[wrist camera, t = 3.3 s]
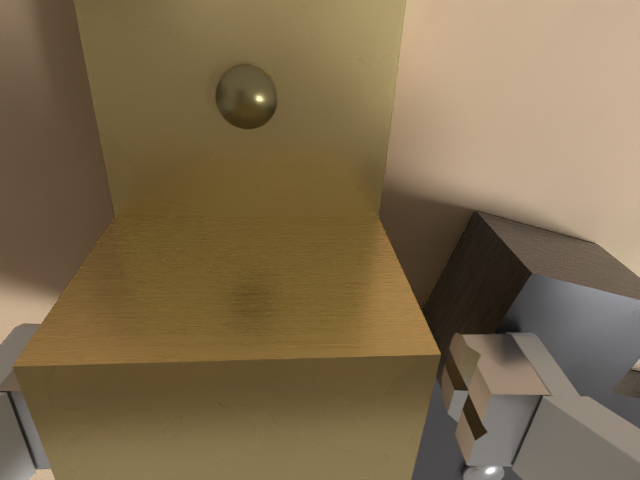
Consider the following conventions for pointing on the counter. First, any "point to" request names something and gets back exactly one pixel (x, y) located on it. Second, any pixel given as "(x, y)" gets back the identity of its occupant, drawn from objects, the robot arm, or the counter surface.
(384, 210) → the counter surface
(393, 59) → the loose leaf
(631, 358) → the fixed leaf
